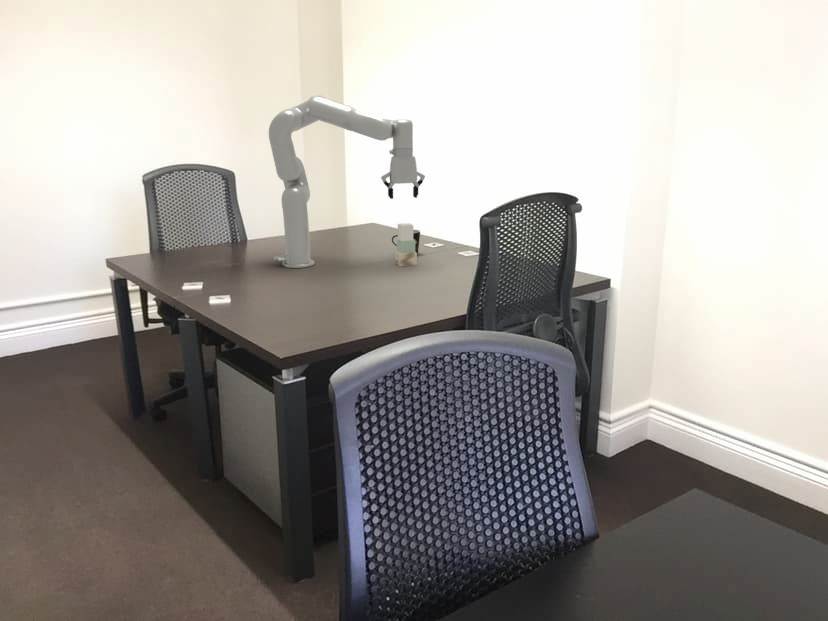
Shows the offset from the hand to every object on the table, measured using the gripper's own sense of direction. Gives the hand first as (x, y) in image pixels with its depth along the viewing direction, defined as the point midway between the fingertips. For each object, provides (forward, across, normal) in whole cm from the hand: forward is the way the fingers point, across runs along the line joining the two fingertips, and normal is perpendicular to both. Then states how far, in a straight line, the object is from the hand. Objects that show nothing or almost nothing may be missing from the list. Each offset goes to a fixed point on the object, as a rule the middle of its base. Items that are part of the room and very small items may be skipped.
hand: (403, 197), depth 283 cm
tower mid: (+22, +1, 0) cm, 22 cm away
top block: (+16, +1, 0) cm, 17 cm away
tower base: (+26, +1, 0) cm, 27 cm away
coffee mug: (+26, +6, +16) cm, 31 cm away
